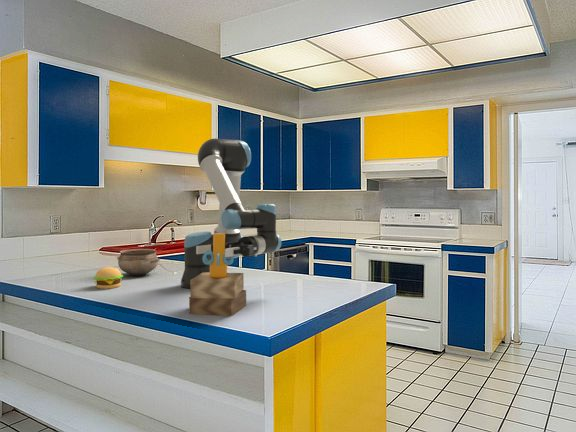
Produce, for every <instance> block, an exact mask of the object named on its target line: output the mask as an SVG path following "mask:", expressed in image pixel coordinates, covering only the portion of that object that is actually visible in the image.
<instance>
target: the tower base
mask: <svg viewBox="0 0 576 432" xmlns="http://www.w3.org/2000/svg"><path fill="white" fill-rule="evenodd" d="M188 300H189V302H188V303H189V307H188V309H189V312H188V313H189V314H190V315H204V316H221V317H233V316H234V315H236V314H237V313H239V312H240V311H241V310H243V309H244V308H245V307H247V290H246V289H243V291H242V292H241V293H240V294H239V295H238V296H237V297H236V298H235V299H220V298H191V296H189V299H188Z"/></svg>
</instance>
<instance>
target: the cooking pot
mask: <svg viewBox="0 0 576 432" xmlns="http://www.w3.org/2000/svg"><path fill="white" fill-rule="evenodd" d="M156 251H157V250H156V249H153V248H152V249H151V248H133V249H124V250H120V251H119V253H120V255H119V256H117V258H116V259H117V263H118V267H119V270H121V271H122V272H124V273H125V274H128V275H130V276H131V277H143V276H146V275H147V274H149V273H150V272H152V271H153V270H155V269H156V268H157V267H158V263H159V262H160V260H161V258H158V256H157V253H156Z"/></svg>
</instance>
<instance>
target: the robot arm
mask: <svg viewBox="0 0 576 432" xmlns="http://www.w3.org/2000/svg"><path fill="white" fill-rule="evenodd" d="M197 162H198V165H199V167H200V170H201V171H202V172H203V173H205V175H206V177H207V179H208V181H209V183H210V185H211V187H212V190H213V191H214V192H213V193H215V196H216V198H217V200H218V202H219V207H218V217H217V218H218V219H217V220H218V221H217V226H216V227H215V228H214V230H213V233H225V258H226V260H231V256H234V259H237V258H239V257H240V256H242V257H246V258H247V257H252V256H253V257H258V255H264V254H265V255H266V254H272V253H275V252H277V251H279V250H280V248H281V247H282V239H281V236H280V235H279V234H278V233H277V229H276V228H277V210H276V209H277V207H276V205H275V204H274V203H259V204H257V205H256V208H249V209H248V208H247V209H246V208H245V207H244V206H243V203H242V202H241V200H240V191H241V179H242V175H243V173H245V171H246V168H249V166H250V164H251V162H252V152H251V148H250V147H249V145H248V143H246V142H245V141H244V140H238V139H225V138H215V137H214V138H210V139H208V140H206V141H205V142H203V143H202V144H201V146H200V147H199V149H198V151H197ZM248 229H249V230H251V229H256V231H257V232H256V233H257V234H255V235H254V234H253V235H247V236H243V234H242V233H241V230H248ZM213 233H212V232H211V231H198V232H193V233H190V234H187V235H185V237H184V244H183V247H184V249H183V250H184V270H183V274H182V276H181V281H180V287H181V288H184V289H191V288H190V280H191V279H193V278H195V277H196V276H198V275H200V274H201V273H203V272H210V264H209V265H206V264H204V263H203V256H204V254H205V252H206V251H212V252H213ZM206 257H207V259H208V260H211V259H212V257H211V255H206ZM205 261H206V260H205ZM206 262H207V261H206Z"/></svg>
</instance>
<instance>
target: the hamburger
mask: <svg viewBox="0 0 576 432" xmlns="http://www.w3.org/2000/svg"><path fill="white" fill-rule="evenodd" d="M123 277H124V274H122V272H121V271H120V269H118V268H117V267H113V266H106V267H102V268H99V270H97V272H96V273H95V276H94V277H93V279H94V284H95V287H96V288H97V289H102V290H110V289H115V288H119V287H120V286H121V285H122V282H123V279H122V278H123Z"/></svg>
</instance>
